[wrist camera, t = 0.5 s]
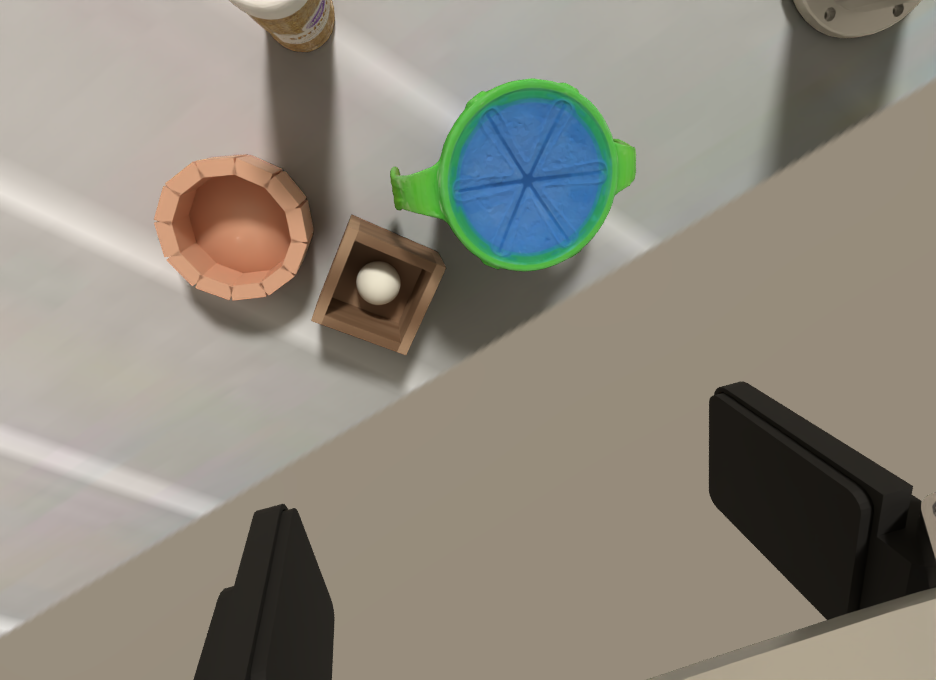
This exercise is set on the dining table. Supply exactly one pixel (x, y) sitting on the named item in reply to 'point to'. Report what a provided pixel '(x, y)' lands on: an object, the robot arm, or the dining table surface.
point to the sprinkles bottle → (293, 21)
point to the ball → (378, 283)
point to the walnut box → (390, 320)
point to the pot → (234, 226)
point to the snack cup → (523, 175)
